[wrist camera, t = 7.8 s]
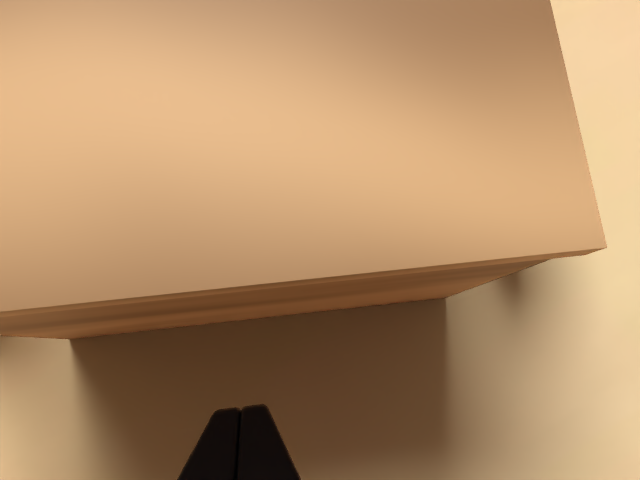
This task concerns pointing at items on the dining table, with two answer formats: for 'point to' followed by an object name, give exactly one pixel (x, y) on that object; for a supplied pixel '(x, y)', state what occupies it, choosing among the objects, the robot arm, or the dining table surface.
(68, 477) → the dining table surface
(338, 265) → the tea box
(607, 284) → the dining table surface
